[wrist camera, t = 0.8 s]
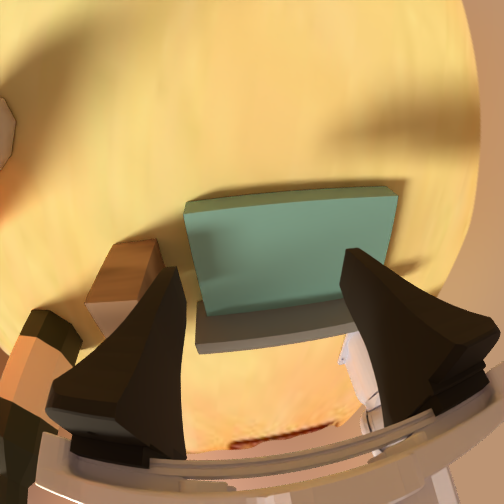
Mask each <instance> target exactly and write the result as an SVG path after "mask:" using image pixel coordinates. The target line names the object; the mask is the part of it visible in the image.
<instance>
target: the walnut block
mask: <svg viewBox="0 0 504 504" xmlns="http://www.w3.org/2000/svg"><path fill="white" fill-rule="evenodd" d="M162 268H165V266H164V262H163V259H162V256H161V252H160V249H159V246H158V242H157V239H149V240H142V241H134V242H127V243H120V244H113V246H112V248H111V249H110V251H109V253H108V255H107V257H106V259H105V261H104V263H103V265H102V267H101V269H100V271H99V273H98V275H97V277H96V279H95V281H94V283H93V285H92V287H91V289H90V292H89V294H88V296H87V298H86V300H85V303H84V304H85V306H86V307H87V309H88V311H89V312H90V314H91V316H92V317H93V319H94V321H95V322H96V324H97V325H98V327H99V329H100V330H101V332H102V333H103V335H104V336H105V338H106V339H107V338H108V337H109V336H110V335H111V334H112V333H113V332H114V331H115V330H116V329H117V328H118V326H119V325H120V324H121V323H122V322H123V321H124V320H125V318H126V317H127V316H128V315H129V313H130V312H131V311H132V310H133V308H134V307H135V306H136V304H137V303H138V302H139V300H140V299H141V298H142V296H143V295H144V293H145V292H146V291H147V289H148V288H149V286H150V285H151V284H152V282H153V281H154V279H155V278H156V276H157V275H158V273H159V272H160V271H161V269H162Z"/></svg>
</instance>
